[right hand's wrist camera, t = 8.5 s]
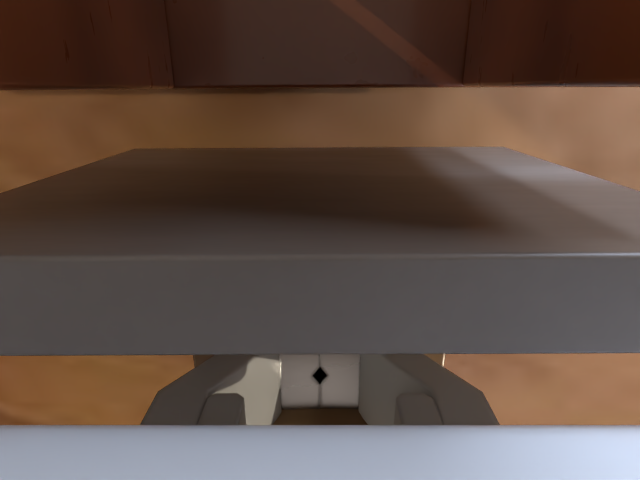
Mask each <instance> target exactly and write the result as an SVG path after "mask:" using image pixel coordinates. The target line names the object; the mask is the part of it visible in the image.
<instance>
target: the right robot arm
mask: <svg viewBox="0 0 640 480" xmlns="http://www.w3.org/2000/svg"><path fill="white" fill-rule="evenodd" d="M286 409H359V413H360V414H361V416H362V418H363V419H364V420H365V422H366V423H367V424H368V425H272V424H273V423H274V422H275V421H276V419H277V418H278V417H279V415H280V414H281V410H286ZM0 480H640V425H500V424H499V422H498V421H497V419H496V417H495V415H494V413H493V411H492V409H491V407H490V405H489V404H488V402H487V400H486V398H485V396H484V394H483V392H481V391H480V390H478V389H477V388H475V387H474V386H472V385H471V384H469V383H467V382H466V381H464V380H463V379H461V378H460V377H458V376H457V375H455V374H453V373H452V372H450V371H449V370H447V369H446V368H444V367H443V366H441V365H439V364H438V363H436V362H435V361H433V360H432V359H430V358H429V357H427V356H426V355H424V354H281V355H214V356H213V357H211V358H210V359H208V360H206V361H205V362H203V363H202V364H200V365H199V366H197V367H196V368H194V369H192V370H191V371H189V372H188V373H186V374H185V375H183V376H182V377H180V378H178V379H177V380H175V381H174V382H172V383H171V384H169V385H167V386H166V387H164V388H163V389H161V390H160V391H158V393H157V394H156V396H155V398H154V400H153V402H152V404H151V406H150V407H149V409H148V411H147V413H146V415H145V417H144V419H143V420H142V422H141V424H140V425H0Z"/></svg>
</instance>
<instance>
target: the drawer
mask: <svg viewBox="0 0 640 480" xmlns="http://www.w3.org/2000/svg"><path fill="white" fill-rule="evenodd" d="M382 87H640V0H0V90H89V89H202V88H382ZM521 353H640V191H637V190H634V189H631V188H628V187H625V186H622V185H619V184H616V183H613V182H610V181H607V180H603V179H600V178H597V177H594V176H591V175H588V174H585V173H582V172H579V171H576V170H573V169H570V168H567V167H564V166H561V165H557V164H554V163H551V162H548V161H545V160H542V159H539V158H536V157H533V156H530V155H527V154H524V153H521V152H518V151H514V150H511V149H508V148H505V147H367V148H177V149H133V150H129V151H126V152H123V153H120V154H117V155H114V156H111V157H108V158H105V159H102V160H99V161H96V162H93V163H90V164H87V165H84V166H81V167H78V168H75V169H72V170H69V171H66V172H63V173H60V174H57V175H54V176H51V177H48V178H45V179H42V180H39V181H36V182H33V183H30V184H27V185H24V186H21V187H18V188H15V189H12V190H9V191H6V192H3V193H0V356H42V355H193V359H194V366H195V368H196V367H197V366H199V365H200V364H202V363H203V362H205V361H206V360H208V359H210V358H211V357H213V356H214V355H281V354H424V355H426V356H427V357H429V358H430V359H432V360H433V361H435V362H436V363H438V364H439V365H441V366H443V367H444V361H445V354H521ZM272 425H368V424H367V423H366V422H365V420H364V419H363V418H362V416H361V414H360V413H359V409H286V410H281V414H280V415H279V417H278V418H277V419H276V421H275V422H274V423H273V424H272Z"/></svg>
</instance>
